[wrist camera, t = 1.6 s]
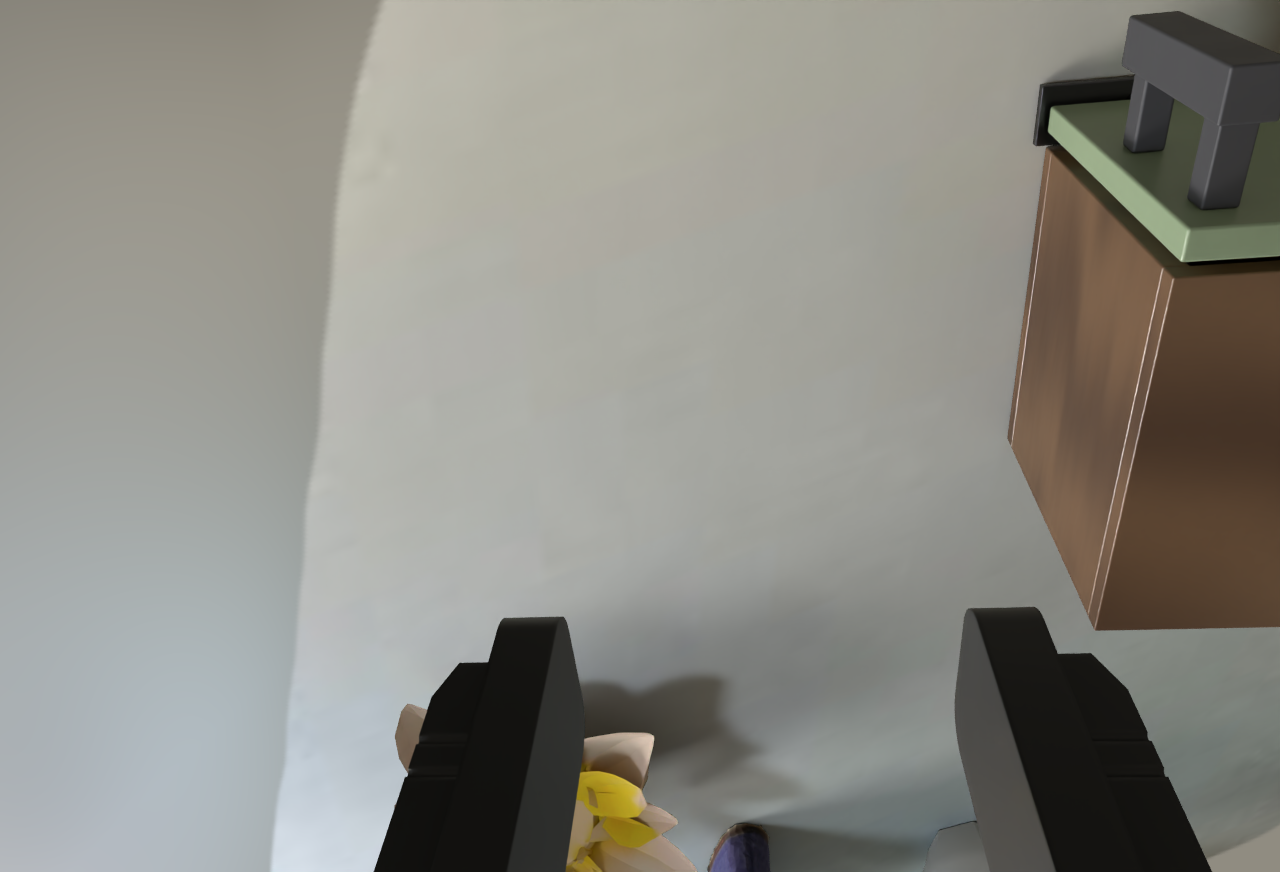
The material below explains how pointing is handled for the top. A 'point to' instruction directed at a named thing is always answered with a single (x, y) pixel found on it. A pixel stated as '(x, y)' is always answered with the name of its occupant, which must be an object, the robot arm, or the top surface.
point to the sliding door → (1188, 138)
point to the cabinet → (1147, 407)
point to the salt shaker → (957, 850)
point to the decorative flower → (600, 804)
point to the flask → (741, 850)
